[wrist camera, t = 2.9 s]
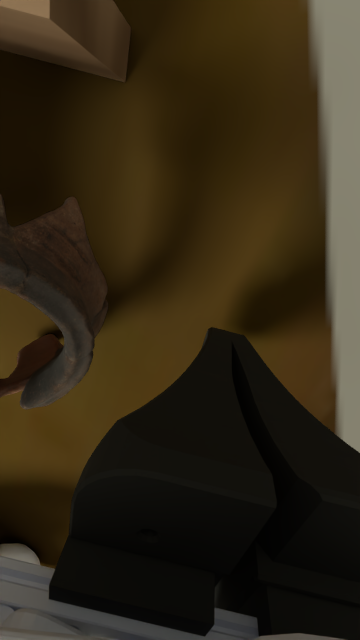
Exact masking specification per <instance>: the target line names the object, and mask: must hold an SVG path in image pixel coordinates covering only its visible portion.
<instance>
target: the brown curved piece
mask: <svg viewBox="0 0 360 640" xmlns="http://www.w3.org/2000/svg"><path fill="white" fill-rule="evenodd" d="M0 288H2V289H6V290H9V291H10V292H12V293H14V294H16V295H18V296H19V297H21V298H22V299H24V300H27V301H28V302H30V303H32V304H33V305H34V306H35V307H36V308H38V309H39V310H41V311H42V312H43V313H44V314H45V315H47V316H48V317H49V318H50V319H51V320H52V321H54V322H55V324H56V325H57V326H58V327H59V329H60V330H61V331H62V334H63V336H64V340H65V344H64V346H63V345H62V344H61V343H60V342H59V340H58V339H57V338H56V336H55V335H53V334H49V335H45V336H43V337H41V338H39V339H37V340H35V341H33V342H32V343H30V344H29V345H27V346H25V347H24V348H22V349H21V350H20V351H19V353H18V357H17V367H16V368H15V370H14V371H13V373H12V374H11V375H10V376H9V377H8V378H5V379H0V397H2V396H5V395H8V394H13V393H16V392H19V391H22V390H23V392H22V395H21V400H20V405H21V407H22V408H24V409H31V408H34V407H42V406H46V405H49V404H51V403H53V402H55V401H56V400H57V399H60V398H61V397H62V396H64V395H65V394H67V393H68V392H69V391H70V390H71V389H72V388H73V387H74V386H76V385H77V384H78V383H79V382H80V381H81V379H82V378H83V377H84V376H85V374H86V372H87V371H88V370H89V367H90V364H91V361H92V358H93V351H92V350H93V348H94V338H95V337H96V336H97V334H98V332H99V331H100V329H101V327H102V325H103V323H104V319H105V317H106V314H107V310H108V302H107V300H106V299H105V297H106V295H107V291H108V286H107V284H106V280H105V277H104V275H103V273H102V271H101V270H100V268H99V265H98V263H97V262H96V260H95V258H94V255H93V252H92V249H91V246H90V244H89V240H88V237H87V234H86V231H85V222H84V219H83V216H82V213H81V210H80V207H79V205H78V202H77V199H76V198H75V197H68V198H67V199H66V200H65V203H64V204H63V205H62V206H60V207H59V208H58V209H56V210H54V211H51V212H48V213H45V214H44V215H42V216H40V217H38V218H36V219H34V220H31V221H28V222H26V223H24V224H21V225H18V226H15V227H12V226H10V225H9V224H8V222H7V218H6V213H5V205H4V200H3V197H2V195H1V194H0Z"/></svg>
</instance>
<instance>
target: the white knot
mask: <svg viewBox="0 0 360 640" xmlns="http://www.w3.org/2000/svg"><path fill="white" fill-rule="evenodd" d="M0 556H4V557H8V558H12V559H16V560H20V561H24V562H28V563H33V564H37V565H40V561H39V559H38V557H37V555H36V554H35V553H34V552H33V551H32V550H31V549H30V548H29V547H27V546H26V545H24V544H20V543H13V544H0Z"/></svg>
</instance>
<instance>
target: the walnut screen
mask: <svg viewBox="0 0 360 640" xmlns="http://www.w3.org/2000/svg"><path fill="white" fill-rule="evenodd" d="M130 35H131V27H130V25H129V24H128V22H127V21H126V19H125V18H124V16H123V15H122V13H121V12H120V10H119V9H118V7H117V6H116V4H115V2H114V1H113V0H0V50H3V51H7V52H11V53H15V54H19V55H22V56H26V57H30V58H34V59H38V60H41V61H45V62H49V63H53V64H57V65H60V66H64V67H68V68H72V69H76V70H79V71H83V72H87V73H91V74H95V75H98V76H102V77H106V78H110V79H114V80H117V81H121V82H126V72H127V63H128V54H129V44H130Z"/></svg>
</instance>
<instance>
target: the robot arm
mask: <svg viewBox="0 0 360 640" xmlns="http://www.w3.org/2000/svg"><path fill="white" fill-rule="evenodd" d="M0 640H360V453H359V452H358V451H356V450H355V449H353V448H352V447H351V446H349V445H348V444H347V443H345V442H344V441H343V440H342V439H340V438H339V437H338V436H336V435H335V434H334V433H333V432H332V431H330V430H329V429H328V428H327V427H326V426H324V425H323V424H322V423H321V422H320V421H318V420H317V419H316V418H315V417H314V416H313V415H312V414H311V413H310V412H308V411H307V410H306V409H305V408H304V407H303V406H302V405H301V404H300V403H299V402H298V401H297V400H296V399H295V398H294V397H293V396H292V395H291V394H290V393H289V392H288V390H287V389H286V388H285V387H284V386H283V385H282V384H281V382H280V381H279V380H278V379H277V378H276V377H275V375H274V374H273V373H272V372H271V370H270V369H269V368H268V367H267V365H266V364H265V363H264V361H263V360H262V359H261V357H260V356H259V355H258V353H257V352H256V351H255V349H254V348H253V346H252V345H251V344H250V342H249V341H248V340H247V338H246V337H245V336H244V335H240V334H237V333H233V332H229V331H225V330H221V329H217V328H213V327H211V328H209V329H208V331H207V334H206V337H205V340H204V343H203V346H202V349H201V351H200V352H199V354H198V355H197V357H196V358H195V359H194V361H193V362H192V364H191V365H190V366H189V367H188V368H187V370H186V371H185V372H184V373H183V374H182V375H181V376H180V377H179V378H178V379H177V380H176V381H175V382H174V383H173V384H172V385H171V386H170V387H168V388H167V389H166V390H165V391H164V392H162V393H161V394H160V395H158V396H157V397H155V398H154V399H153V400H151V401H150V402H148V403H147V404H146V405H144V406H142V407H141V408H139V409H137V410H136V411H134V412H132V413H130V414H128V415H126V416H125V417H123V418H121V419H119V420H117V422H116V423H115V424H114V425H113V426H112V428H111V429H110V430H109V431H108V433H107V434H106V435H105V436H104V438H103V439H102V440H101V442H100V443H99V444H98V446H97V447H96V449H95V450H94V452H93V453H92V455H91V457H90V458H89V460H88V462H87V464H86V465H85V467H84V469H83V472H82V474H81V476H80V479H79V481H78V484H77V486H76V488H75V491H74V494H73V497H72V503H71V515H70V527H69V535H68V538H67V540H66V543H65V546H64V548H63V551H62V553H61V556H60V558H59V561H58V563H57V566H56V568H55V569H53V568H49V567H45V566H41V565H37V564H33V563H28V562H24V561H20V560H16V559H12V558H8V557H4V556H0Z"/></svg>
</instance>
